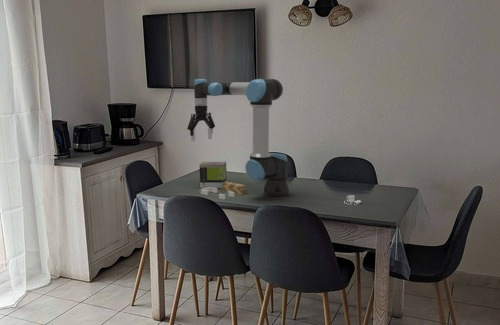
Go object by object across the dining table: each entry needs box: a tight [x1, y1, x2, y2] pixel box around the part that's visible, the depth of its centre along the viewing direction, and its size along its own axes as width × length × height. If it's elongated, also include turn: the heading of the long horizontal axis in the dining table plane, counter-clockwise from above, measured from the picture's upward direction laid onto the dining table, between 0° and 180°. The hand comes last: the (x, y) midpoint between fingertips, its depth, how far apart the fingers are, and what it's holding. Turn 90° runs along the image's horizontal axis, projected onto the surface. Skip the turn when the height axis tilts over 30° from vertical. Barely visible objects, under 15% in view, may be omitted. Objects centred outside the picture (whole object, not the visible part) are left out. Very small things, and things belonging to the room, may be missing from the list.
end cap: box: [199, 187, 219, 196], centre depth 283 cm, size 6×8×2 cm
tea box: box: [199, 161, 228, 189], centre depth 298 cm, size 15×10×15 cm, turn 84°
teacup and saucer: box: [343, 194, 362, 205], centre depth 262 cm, size 9×8×4 cm
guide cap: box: [218, 191, 236, 201], centre depth 273 cm, size 4×8×2 cm, turn 137°
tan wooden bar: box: [221, 180, 248, 196], centre depth 286 cm, size 16×4×5 cm, turn 47°
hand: (201, 140), depth 301 cm, fingers open, 13 cm apart
